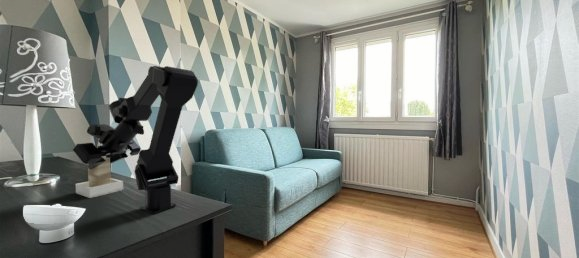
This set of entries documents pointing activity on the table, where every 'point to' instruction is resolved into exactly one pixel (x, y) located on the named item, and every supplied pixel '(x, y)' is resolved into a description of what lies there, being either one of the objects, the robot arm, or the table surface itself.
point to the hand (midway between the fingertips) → (96, 167)
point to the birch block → (100, 174)
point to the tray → (98, 188)
